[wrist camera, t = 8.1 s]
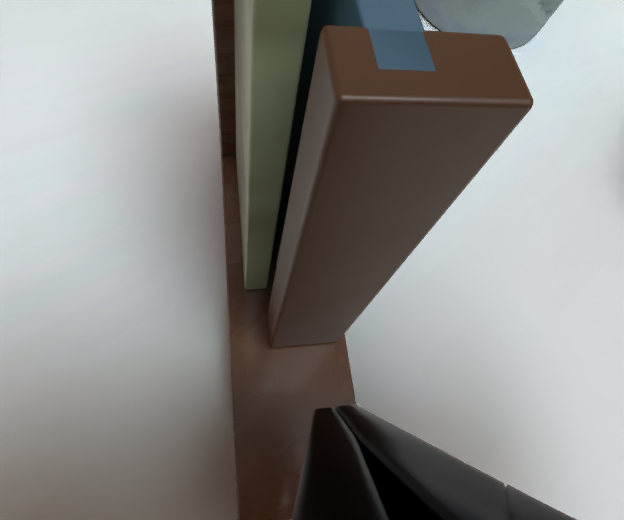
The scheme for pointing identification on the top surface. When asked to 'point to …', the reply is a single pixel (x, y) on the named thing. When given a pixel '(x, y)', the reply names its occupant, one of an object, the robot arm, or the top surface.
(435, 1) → the embossed grey plant pot
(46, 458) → the top surface
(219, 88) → the brown wooden panel stand
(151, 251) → the top surface
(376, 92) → the sliding door
